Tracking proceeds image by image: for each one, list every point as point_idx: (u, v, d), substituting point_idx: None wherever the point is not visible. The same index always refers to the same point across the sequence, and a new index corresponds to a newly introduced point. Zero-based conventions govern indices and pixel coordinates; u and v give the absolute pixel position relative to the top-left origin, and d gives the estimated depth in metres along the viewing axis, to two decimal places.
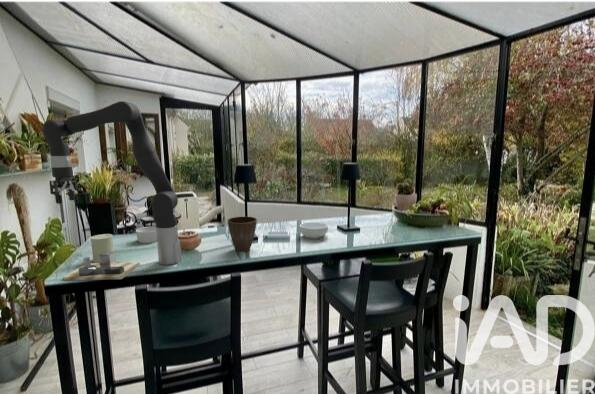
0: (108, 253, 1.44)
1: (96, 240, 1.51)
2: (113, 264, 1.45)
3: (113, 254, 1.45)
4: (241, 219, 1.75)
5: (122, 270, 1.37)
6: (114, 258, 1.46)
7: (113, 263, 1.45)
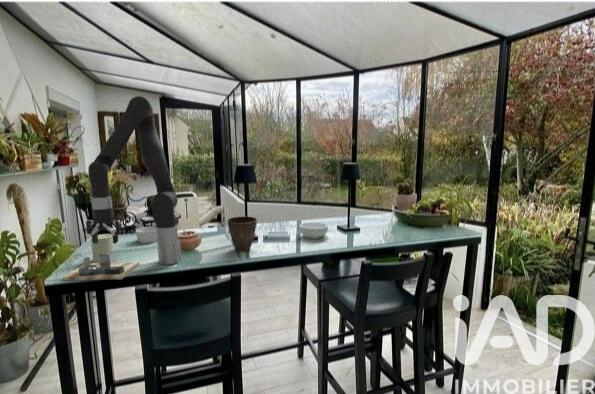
0: (108, 253, 1.44)
1: None
2: (113, 264, 1.45)
3: (113, 254, 1.45)
4: (241, 219, 1.75)
5: (122, 270, 1.37)
6: (114, 258, 1.46)
7: (113, 263, 1.45)
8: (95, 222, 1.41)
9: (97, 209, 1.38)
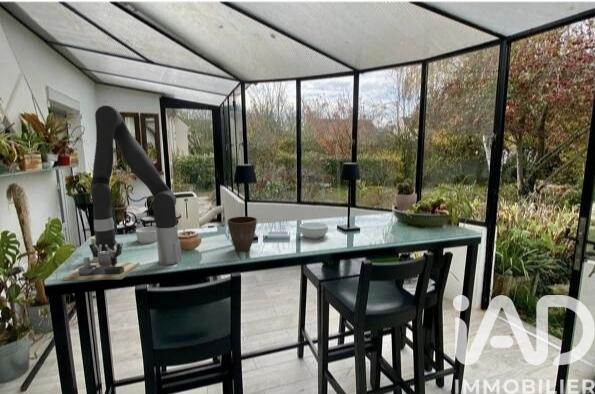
0: (108, 253, 1.44)
1: None
2: None
3: None
4: (241, 219, 1.75)
5: (122, 270, 1.37)
6: None
7: None
8: (97, 244, 1.43)
9: (99, 231, 1.39)
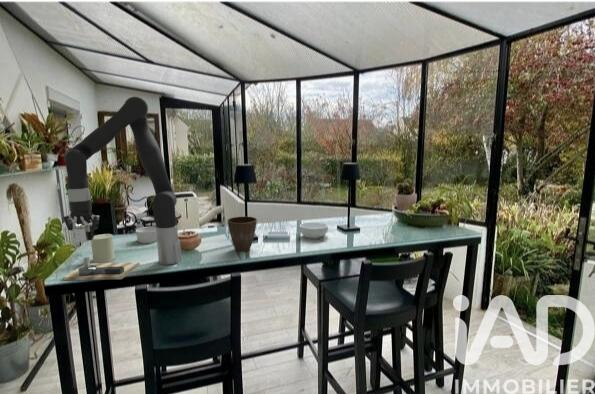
0: (84, 226, 1.34)
1: (96, 240, 1.51)
2: None
3: None
4: (241, 219, 1.75)
5: (122, 270, 1.37)
6: None
7: None
8: (72, 216, 1.32)
9: (73, 201, 1.29)
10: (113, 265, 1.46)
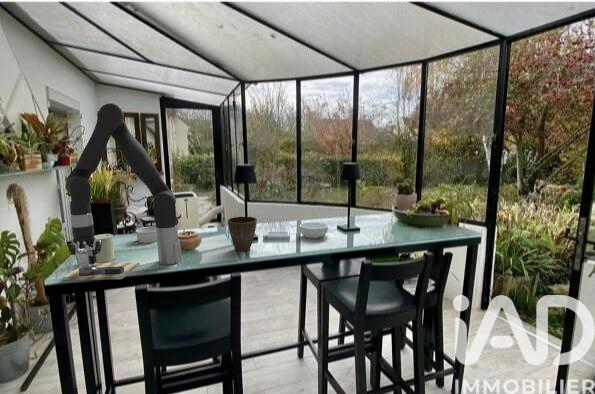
0: (87, 251, 1.36)
1: None
2: None
3: None
4: (241, 219, 1.75)
5: (122, 270, 1.37)
6: None
7: None
8: (75, 241, 1.34)
9: (76, 227, 1.31)
10: (113, 265, 1.46)
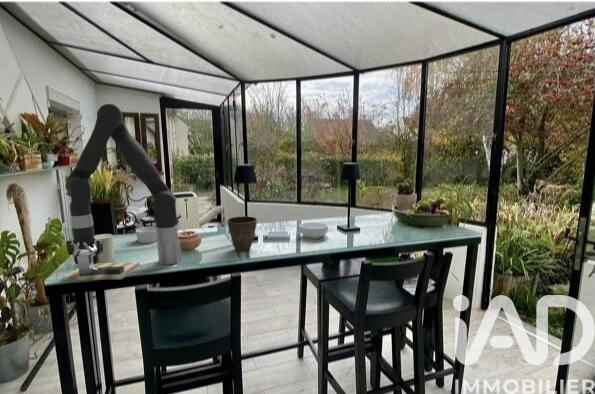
0: (87, 254, 1.36)
1: None
2: (93, 265, 1.37)
3: None
4: (241, 219, 1.75)
5: (122, 270, 1.37)
6: None
7: (93, 264, 1.37)
8: (75, 242, 1.34)
9: (76, 228, 1.30)
10: (113, 265, 1.46)
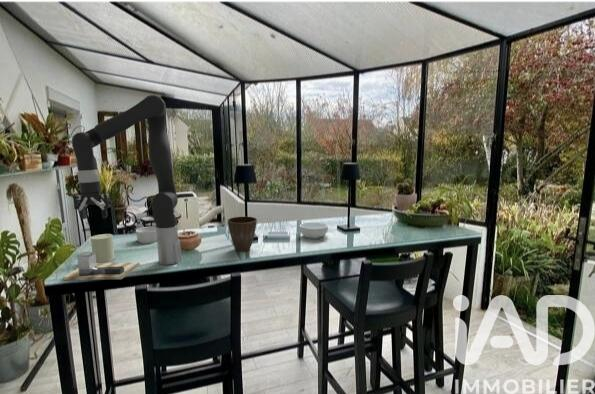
0: (87, 254, 1.36)
1: (96, 240, 1.51)
2: (93, 265, 1.37)
3: (93, 255, 1.37)
4: (241, 219, 1.75)
5: (122, 270, 1.37)
6: (94, 259, 1.38)
7: (93, 264, 1.37)
8: (83, 197, 1.37)
9: (84, 182, 1.34)
10: (113, 265, 1.46)
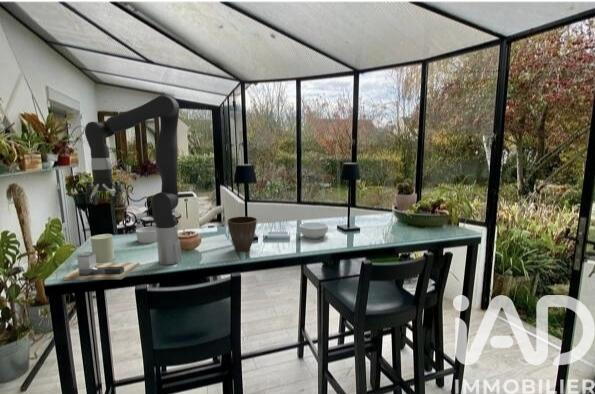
0: (87, 254, 1.36)
1: (96, 240, 1.51)
2: (93, 265, 1.37)
3: (93, 255, 1.37)
4: (241, 219, 1.75)
5: (122, 270, 1.37)
6: (94, 259, 1.38)
7: (93, 264, 1.37)
8: (95, 183, 1.44)
9: (96, 169, 1.41)
10: (113, 265, 1.46)
